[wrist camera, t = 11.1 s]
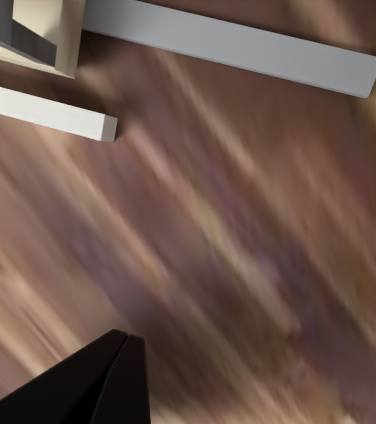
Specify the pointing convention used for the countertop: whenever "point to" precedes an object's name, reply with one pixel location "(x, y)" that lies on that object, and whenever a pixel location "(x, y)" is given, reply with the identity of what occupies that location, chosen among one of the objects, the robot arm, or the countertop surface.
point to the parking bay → (201, 48)
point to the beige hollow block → (42, 34)
